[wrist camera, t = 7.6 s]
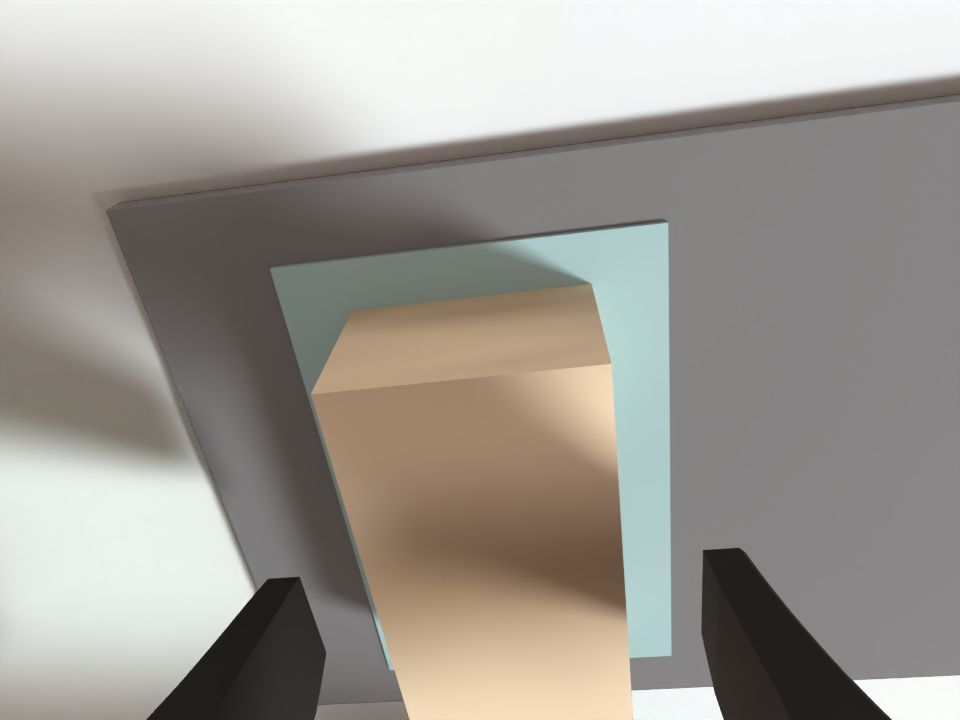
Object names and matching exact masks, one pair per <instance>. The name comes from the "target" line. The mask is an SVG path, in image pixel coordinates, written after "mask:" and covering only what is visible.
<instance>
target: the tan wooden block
mask: <svg viewBox="0 0 960 720" xmlns="http://www.w3.org/2000/svg"><path fill="white" fill-rule="evenodd" d="M311 397H312V400H313V404H314V407H315V410H316V413H317V417H318V420H319V423H320V427H321V430H322V433H323V437H324V440H325V443H326V446H327V450H328V453H329V456H330V460H331V463H332V466H333V469H334V473H335V476H336V479H337V483H338V486H339V489H340V492H341V496H342V499H343V502H344V506H345V509H346V512H347V515H348V519H349V522H350V525H351V529H352V532H353V535H354V538H355V542H356V545H357V548H358V552H359V555H360V558H361V562H362V565H363V568H364V571H365V575H366V578H367V581H368V585H369V588H370V591H371V594H372V598H373V601H374V604H375V608H376V611H377V614H378V617H379V621H380V624H381V627H382V631H383V634H384V637H385V640H386V644H387V647H388V650H389V654H390V657H391V660H392V663H393V667H394V670H395V673H396V677H397V680H398V683H399V687H400V690H401V693H402V696H403V700H404V703H405V706H406V710H407V713H408V716H409V719H410V720H633V709H632V693H631V676H630V660H629V643H628V627H627V610H626V594H625V577H624V561H623V544H622V528H621V512H620V495H619V479H618V462H617V446H616V429H615V413H614V396H613V380H612V364H611V360H610V356H609V352H608V348H607V344H606V340H605V336H604V331H603V327H602V323H601V319H600V315H599V311H598V307H597V303H596V299H595V295H594V291H593V287H592V284H584V285H575V286H566V287H557V288H549V289H540V290H531V291H522V292H514V293H505V294H496V295H487V296H479V297H470V298H461V299H452V300H444V301H435V302H426V303H417V304H409V305H400V306H391V307H382V308H374V309H365V310H356V311H352V312H351V314H350V316H349V318H348V320H347V322H346V324H345V326H344V328H343V330H342V332H341V334H340V336H339V338H338V340H337V342H336V344H335V346H334V348H333V350H332V352H331V354H330V356H329V358H328V360H327V362H326V364H325V366H324V368H323V370H322V373H321V375H320V377H319V379H318V381H317V383H316V385H315V387H314V389H313V391H312V393H311Z"/></svg>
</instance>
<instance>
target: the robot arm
mask: <svg viewBox="0 0 960 720" xmlns="http://www.w3.org/2000/svg"><path fill="white" fill-rule="evenodd" d="M701 634H702V638H703V643H704V647H705V652H706V657H707V661H708V666H709V670H710V674H711V678H712V683H713V687H714V691H715V695H716V698H717V701H718V704H719V707H720V710H721V713H722V716H723V719H724V720H892V719H891V718H889V717H888V716H887V715H886V714H885V713H884V712H883V711H882V710H881V709H880V708H879V707H878V706H877V705H876V704H875V703H874V702H873V701H872V700H871V699H870V698H869V697H868V696H867V695H866V694H865V693H864V692H863V690H862V689H861V688H860V687H859V686H858V685H857V684H856V683H855V682H854V681H853V680H852V679H851V678H850V677H849V676H848V675H847V674H846V673H845V672H844V671H843V670H842V669H841V668H840V666H839V665H838V664H837V663H836V662H835V661H834V660H833V659H832V658H831V657H830V656H829V654H828V653H827V652H826V651H825V650H824V649H823V648H822V647H821V645H820V644H819V643H818V642H817V641H816V640H815V639H814V638H813V636H812V635H811V634H810V633H809V632H808V631H807V630H806V628H805V627H804V626H803V625H802V624H801V623H800V621H799V620H798V619H797V618H796V617H795V616H794V614H793V613H792V612H791V611H790V610H789V608H788V607H787V606H786V605H785V603H784V602H783V601H782V600H781V598H780V597H779V596H778V595H777V593H776V592H775V591H774V590H773V588H772V587H771V586H770V585H769V583H768V582H767V581H766V579H765V578H764V577H763V575H762V574H761V573H760V571H759V570H758V569H757V567H756V566H755V565H754V563H753V562H752V561H751V559H750V558H749V556H748V555H747V554H746V552H744V551H743V550H742V549H741V548H727V549H711V550H703V570H702V620H701ZM325 659H326V650H325V647H324V644H323V641H322V639H321V636H320V633H319V630H318V627H317V624H316V622H315V619H314V616H313V613H312V610H311V607H310V605H309V602H308V599H307V596H306V593H305V590H304V588H303V585H302V582H301V579H300V577H286V578H270V579H267V580H266V582H265V583H264V584H263V585H262V586H261V587H260V589H259V590H258V591H257V592H256V593H255V594H254V596H253V597H252V598H251V599H250V600H249V602H248V603H247V604H246V605H245V606H244V608H243V609H242V610H241V611H240V613H239V614H238V615H237V616H236V617H235V619H234V620H233V621H232V622H231V623H230V625H229V626H228V627H227V628H226V629H225V631H224V632H223V633H222V634H221V636H220V637H219V638H218V639H217V640H216V642H215V643H214V644H213V645H212V646H211V648H210V649H209V650H208V651H207V652H206V653H205V655H204V656H203V657H202V658H201V659H200V660H199V662H198V663H197V664H196V665H195V666H194V667H193V669H192V670H191V671H190V672H189V673H188V674H187V676H186V677H185V678H184V679H183V680H182V681H181V682H180V684H179V685H178V686H177V687H176V688H175V689H174V690H173V691H172V692H171V694H170V695H169V696H168V697H167V698H166V699H165V700H164V701H163V702H162V703H161V704H160V705H159V707H158V708H157V709H156V710H155V711H154V712H153V713H152V714H151V715H150V716H149V717H148V718H147V720H314V717H315V714H316V710H317V705H318V700H319V695H320V689H321V684H322V678H323V671H324V665H325Z"/></svg>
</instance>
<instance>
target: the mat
mask: <svg viewBox="0 0 960 720" xmlns="http://www.w3.org/2000/svg"><path fill="white" fill-rule="evenodd" d="M106 212H107V215H108V217H109V220H110V222H111V225H112V227H113V230H114V232H115V235H116V237H117V240H118V242H119V245H120V247H121V250H122V252H123V255H124V257H125V260H126V262H127V265H128V267H129V270H130V272H131V275H132V277H133V280H134V282H135V284H136V287H137V289H138V292H139V294H140V297H141V299H142V302H143V304H144V307H145V309H146V312H147V314H148V317H149V319H150V322H151V324H152V327H153V329H154V332H155V334H156V337H157V339H158V342H159V344H160V347H161V349H162V352H163V354H164V357H165V359H166V362H167V364H168V367H169V369H170V372H171V374H172V377H173V379H174V382H175V384H176V387H177V389H178V392H179V394H180V397H181V399H182V402H183V404H184V407H185V409H186V412H187V414H188V417H189V419H190V422H191V424H192V426H193V429H194V431H195V434H196V436H197V439H198V441H199V444H200V446H201V449H202V451H203V454H204V456H205V459H206V461H207V464H208V466H209V469H210V471H211V474H212V476H213V479H214V481H215V484H216V486H217V489H218V491H219V494H220V496H221V499H222V501H223V504H224V506H225V509H226V511H227V514H228V516H229V519H230V521H231V524H232V526H233V529H234V531H235V534H236V536H237V539H238V541H239V544H240V546H241V549H242V551H243V554H244V556H245V559H246V561H247V563H248V566H249V568H250V571H251V573H252V576H253V578H254V581H255V583H256V586H257V588H258V590H259V589H260V587H261V586H262V585H263V584H264V583H265V582H266V580H267V579H270V578H286V577H300V579H301V582H302V585H303V588H304V590H305V593H306V596H307V599H308V602H309V605H310V607H311V610H312V613H313V616H314V619H315V622H316V624H317V627H318V630H319V633H320V636H321V639H322V641H323V644H324V647H325V650H326V659H325V665H324V671H323V678H322V684H321V689H320V695H319V700H318V705H328V704H349V703H371V702H392V701H404V700H403V696H402V693H401V690H400V687H399V683H398V680H397V677H396V673H395V670H394V667H393V663H392V660H391V657H390V654H389V650H388V647H387V644H386V640H385V637H384V634H383V631H382V627H381V624H380V621H379V617H378V614H377V611H376V608H375V604H374V601H373V598H372V594H371V591H370V588H369V585H368V581H367V578H366V575H365V571H364V568H363V565H362V562H361V558H360V555H359V552H358V548H357V545H356V542H355V538H354V535H353V532H352V529H351V525H350V522H349V519H348V515H347V512H346V509H345V506H344V502H343V499H342V496H341V492H340V489H339V486H338V483H337V479H336V476H335V473H334V469H333V466H332V463H331V460H330V456H329V453H328V450H327V446H326V443H325V440H324V437H323V433H322V430H321V427H320V423H319V420H318V417H317V413H316V410H315V407H314V404H313V400H312V397H311V393H312V391H313V389H314V387H315V385H316V383H317V381H318V379H319V377H320V375H321V373H322V370H323V368H324V366H325V364H326V362H327V360H328V358H329V356H330V354H331V352H332V350H333V348H334V346H335V344H336V342H337V340H338V338H339V336H340V334H341V332H342V330H343V328H344V326H345V324H346V322H347V320H348V318H349V316H350V314H351V312H352V311H356V310H365V309H374V308H382V307H391V306H400V305H409V304H417V303H426V302H435V301H444V300H452V299H461V298H470V297H479V296H487V295H496V294H505V293H514V292H522V291H531V290H540V289H549V288H557V287H566V286H575V285H584V284H592V287H593V291H594V295H595V299H596V303H597V307H598V311H599V315H600V319H601V323H602V327H603V331H604V336H605V340H606V344H607V348H608V352H609V356H610V360H611V364H612V380H613V396H614V413H615V429H616V446H617V462H618V479H619V495H620V512H621V528H622V544H623V561H624V577H625V594H626V610H627V627H628V643H629V660H630V676H631V690H650V689H672V688H693V687H713V683H712V678H711V674H710V670H709V666H708V661H707V657H706V652H705V647H704V643H703V638H702V634H701V620H702V570H703V550H711V549H727V548H741V549H742V550H743V551H744V552H746V554H747V555H748V556H749V558H750V559H751V561H752V562H753V563H754V565H755V566H756V567H757V569H758V570H759V571H760V573H761V574H762V575H763V577H764V578H765V579H766V581H767V582H768V583H769V585H770V586H771V587H772V588H773V590H774V591H775V592H776V593H777V595H778V596H779V597H780V598H781V600H782V601H783V602H784V603H785V605H786V606H787V607H788V608H789V610H790V611H791V612H792V613H793V614H794V616H795V617H796V618H797V619H798V620H799V621H800V623H801V624H802V625H803V626H804V627H805V628H806V630H807V631H808V632H809V633H810V634H811V635H812V636H813V638H814V639H815V640H816V641H817V642H818V643H819V644H820V645H821V647H822V648H823V649H824V650H825V651H826V652H827V653H828V654H829V656H830V657H831V658H832V659H833V660H834V661H835V662H836V663H837V664H838V665H839V666H840V668H841V669H842V670H843V671H844V672H845V673H846V674H847V675H848V676H849V677H850V678H851V679H852V680H865V679H887V678H908V677H930V676H951V675H960V94H959V95H951V96H943V97H936V98H928V99H920V100H912V101H905V102H897V103H889V104H882V105H874V106H866V107H858V108H851V109H843V110H835V111H827V112H820V113H812V114H804V115H796V116H789V117H781V118H773V119H765V120H758V121H750V122H742V123H734V124H727V125H719V126H711V127H703V128H696V129H688V130H680V131H673V132H665V133H657V134H649V135H642V136H634V137H626V138H618V139H611V140H603V141H595V142H587V143H580V144H572V145H564V146H556V147H549V148H541V149H533V150H525V151H518V152H510V153H502V154H494V155H487V156H479V157H471V158H464V159H456V160H448V161H440V162H433V163H425V164H417V165H409V166H402V167H394V168H386V169H378V170H371V171H363V172H355V173H347V174H340V175H332V176H324V177H316V178H309V179H301V180H293V181H285V182H278V183H270V184H262V185H255V186H247V187H239V188H231V189H224V190H216V191H208V192H200V193H193V194H185V195H177V196H169V197H162V198H154V199H146V200H138V201H131V202H123V203H119V204H117V205H115V206H113V207H112V208H110V209H108V210H106Z"/></svg>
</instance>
